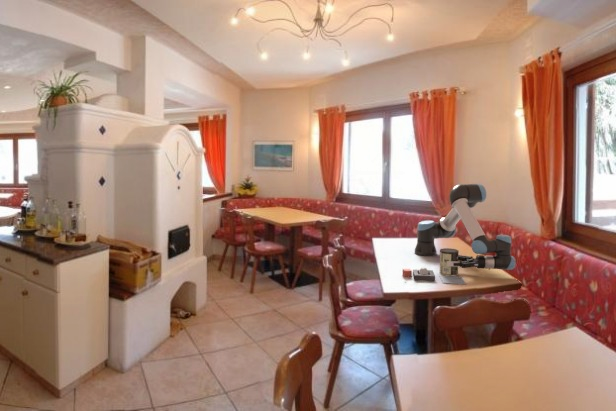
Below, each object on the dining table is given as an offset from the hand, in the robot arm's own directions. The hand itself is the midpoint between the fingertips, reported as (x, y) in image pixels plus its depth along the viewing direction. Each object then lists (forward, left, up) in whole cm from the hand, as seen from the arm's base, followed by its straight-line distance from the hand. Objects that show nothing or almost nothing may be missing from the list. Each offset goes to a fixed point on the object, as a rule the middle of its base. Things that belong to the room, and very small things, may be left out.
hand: (445, 260), depth 208 cm
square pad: (+12, +2, -8) cm, 15 cm away
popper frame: (+10, -13, -8) cm, 18 cm away
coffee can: (0, +2, -8) cm, 8 cm away
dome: (+10, -13, -7) cm, 18 cm away
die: (+9, -22, -8) cm, 25 cm away
